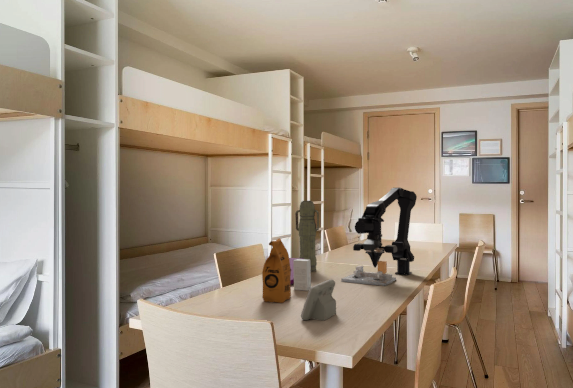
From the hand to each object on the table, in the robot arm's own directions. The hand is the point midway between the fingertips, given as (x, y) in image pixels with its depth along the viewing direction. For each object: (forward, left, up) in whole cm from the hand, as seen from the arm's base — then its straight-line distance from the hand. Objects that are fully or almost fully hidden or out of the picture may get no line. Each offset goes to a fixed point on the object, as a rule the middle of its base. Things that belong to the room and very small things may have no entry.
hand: (375, 267), depth 200 cm
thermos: (-7, -38, -6) cm, 40 cm away
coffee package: (+52, -18, -6) cm, 56 cm away
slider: (+2, +3, -4) cm, 6 cm away
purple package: (+22, -31, -6) cm, 39 cm away
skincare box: (+33, -18, -6) cm, 38 cm away
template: (+4, -1, -6) cm, 7 cm away
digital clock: (+64, +5, -6) cm, 64 cm away
